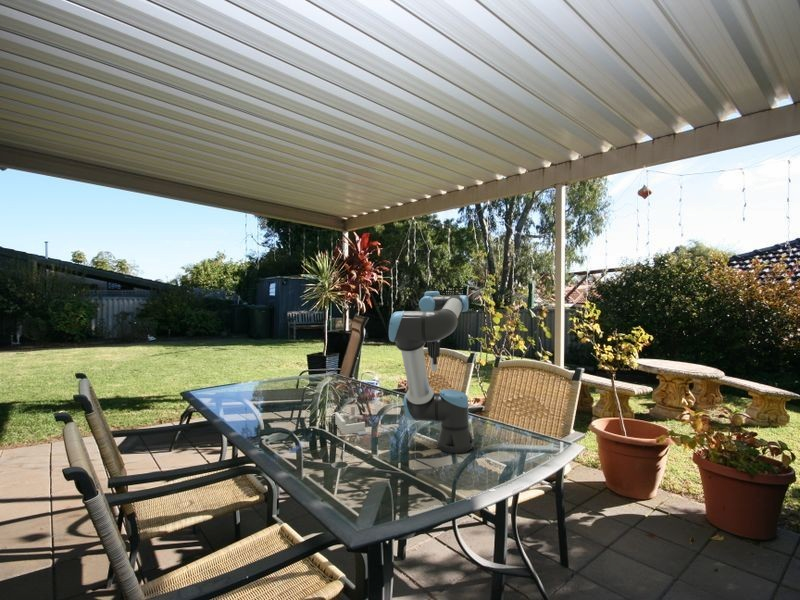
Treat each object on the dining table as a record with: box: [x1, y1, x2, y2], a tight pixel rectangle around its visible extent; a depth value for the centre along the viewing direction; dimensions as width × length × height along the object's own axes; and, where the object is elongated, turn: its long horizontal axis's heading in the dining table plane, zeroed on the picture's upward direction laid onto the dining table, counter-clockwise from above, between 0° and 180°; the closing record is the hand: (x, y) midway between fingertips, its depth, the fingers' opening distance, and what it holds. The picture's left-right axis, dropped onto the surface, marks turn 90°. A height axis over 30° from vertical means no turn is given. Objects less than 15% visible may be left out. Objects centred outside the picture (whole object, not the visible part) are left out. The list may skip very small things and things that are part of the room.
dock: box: [334, 411, 368, 437], centre depth 208 cm, size 26×11×6 cm, turn 21°
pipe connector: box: [342, 405, 364, 424], centre depth 209 cm, size 10×10×10 cm
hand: (434, 370), depth 209 cm, fingers closed
